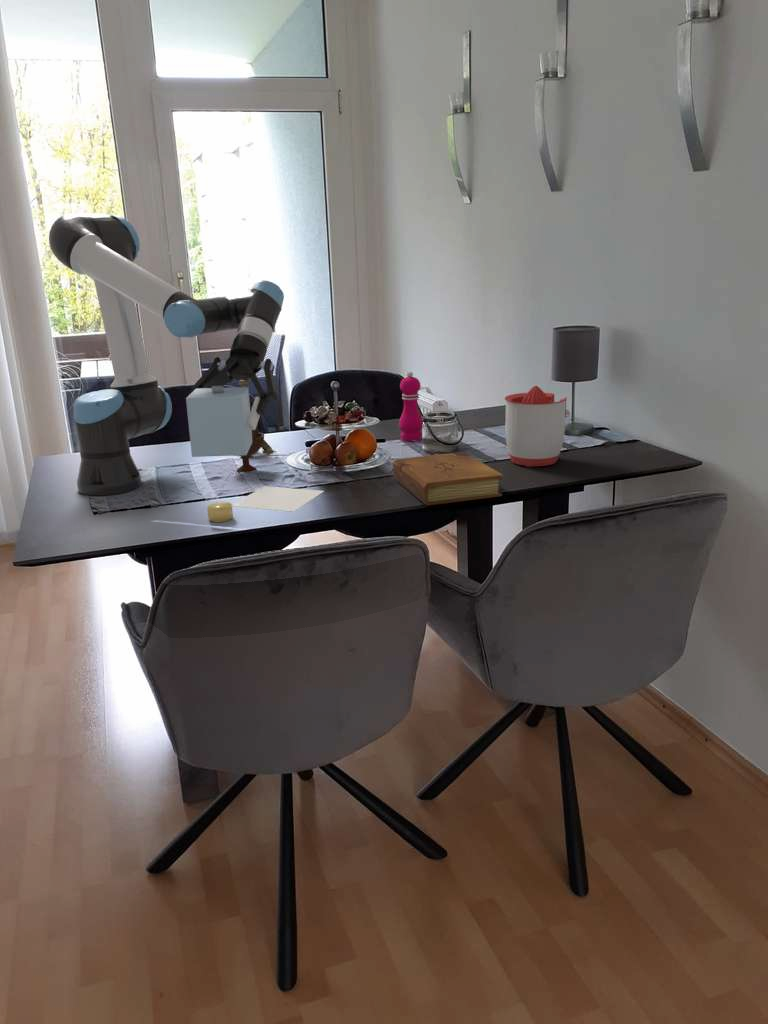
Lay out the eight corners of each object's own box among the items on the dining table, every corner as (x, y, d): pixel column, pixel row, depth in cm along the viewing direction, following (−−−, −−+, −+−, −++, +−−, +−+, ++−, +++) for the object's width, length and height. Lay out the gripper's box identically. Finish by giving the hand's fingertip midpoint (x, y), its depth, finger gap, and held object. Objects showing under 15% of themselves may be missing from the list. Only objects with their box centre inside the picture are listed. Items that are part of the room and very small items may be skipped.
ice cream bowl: (259, 477, 206) (255, 419, 201) (218, 476, 208) (213, 418, 204) (273, 466, 216) (269, 410, 211) (234, 465, 218) (229, 410, 213)
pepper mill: (400, 436, 245) (399, 369, 239) (424, 436, 244) (423, 369, 238) (397, 441, 238) (396, 373, 232) (422, 441, 237) (421, 373, 231)
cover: (191, 456, 164) (185, 392, 160) (201, 443, 175) (195, 382, 171) (246, 455, 165) (241, 390, 161) (252, 442, 175) (247, 381, 171)
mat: (230, 507, 182) (230, 505, 182) (264, 488, 196) (264, 486, 196) (294, 513, 177) (293, 511, 177) (324, 492, 191) (324, 490, 191)
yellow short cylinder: (204, 521, 174) (202, 505, 173) (225, 516, 177) (224, 500, 176) (216, 527, 170) (214, 511, 169) (237, 521, 173) (236, 505, 172)
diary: (393, 482, 200) (392, 459, 199) (463, 474, 205) (463, 451, 204) (424, 507, 179) (424, 482, 178) (502, 498, 184) (502, 473, 182)
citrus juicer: (582, 464, 208) (585, 386, 201) (522, 472, 202) (523, 393, 196) (550, 451, 222) (552, 378, 215) (493, 458, 216) (493, 383, 210)
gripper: (307, 354, 178) (282, 437, 170) (209, 352, 186) (180, 431, 178) (296, 333, 172) (269, 417, 163) (195, 331, 180) (163, 412, 171)
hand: (222, 425), depth 170 cm, fingers closed on cover, 13 cm apart
